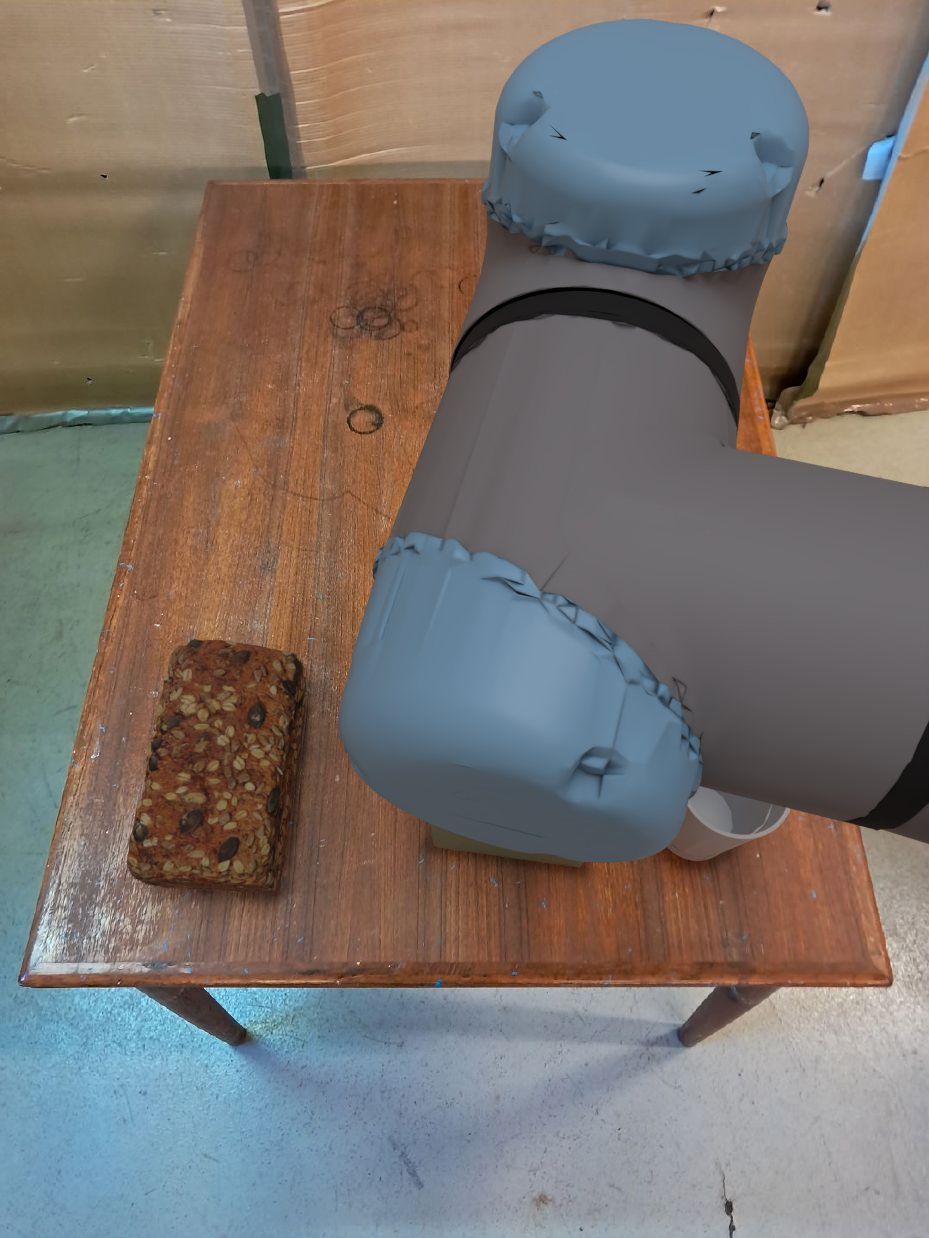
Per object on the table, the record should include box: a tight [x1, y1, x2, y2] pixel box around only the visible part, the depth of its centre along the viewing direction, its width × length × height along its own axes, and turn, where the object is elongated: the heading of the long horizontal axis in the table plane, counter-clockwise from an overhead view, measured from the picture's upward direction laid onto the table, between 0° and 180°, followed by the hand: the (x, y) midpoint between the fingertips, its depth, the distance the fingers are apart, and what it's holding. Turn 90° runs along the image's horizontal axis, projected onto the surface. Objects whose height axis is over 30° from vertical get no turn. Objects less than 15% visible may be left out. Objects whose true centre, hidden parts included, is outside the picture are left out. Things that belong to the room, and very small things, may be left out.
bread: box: [126, 638, 307, 893], centre depth 65 cm, size 19×11×10 cm, turn 177°
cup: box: [666, 786, 791, 862], centre depth 62 cm, size 8×8×12 cm
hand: (530, 705), depth 53 cm, fingers closed on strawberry, 4 cm apart
